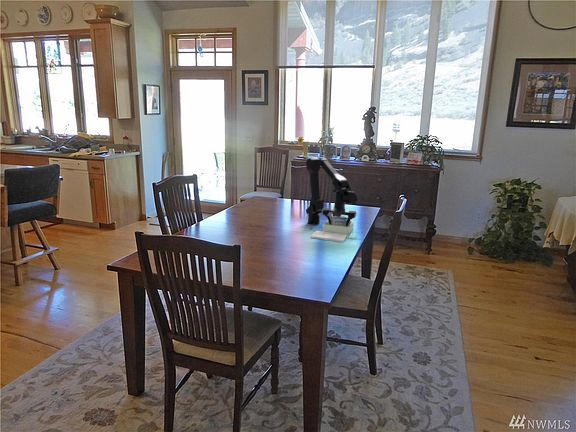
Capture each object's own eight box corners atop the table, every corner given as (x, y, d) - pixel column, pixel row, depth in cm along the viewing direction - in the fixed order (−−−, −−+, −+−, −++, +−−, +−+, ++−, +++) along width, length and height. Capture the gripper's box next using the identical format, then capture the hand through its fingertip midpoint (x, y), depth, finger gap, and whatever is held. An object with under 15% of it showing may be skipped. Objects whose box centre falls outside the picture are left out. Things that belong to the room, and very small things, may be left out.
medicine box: (333, 232, 232) (334, 217, 230) (330, 230, 236) (331, 216, 234) (346, 231, 234) (347, 217, 232) (343, 229, 238) (344, 215, 236)
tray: (310, 237, 222) (310, 236, 221) (316, 232, 232) (316, 230, 232) (343, 242, 216) (343, 240, 216) (347, 236, 226) (347, 234, 226)
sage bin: (322, 232, 231) (323, 224, 230) (328, 226, 244) (329, 218, 242) (348, 236, 227) (349, 227, 225) (353, 229, 239) (353, 221, 238)
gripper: (320, 202, 226) (319, 229, 230) (353, 205, 220) (351, 233, 224) (325, 198, 236) (324, 224, 240) (357, 201, 230) (355, 228, 234)
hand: (338, 227), depth 235 cm, fingers closed on medicine box, 9 cm apart
